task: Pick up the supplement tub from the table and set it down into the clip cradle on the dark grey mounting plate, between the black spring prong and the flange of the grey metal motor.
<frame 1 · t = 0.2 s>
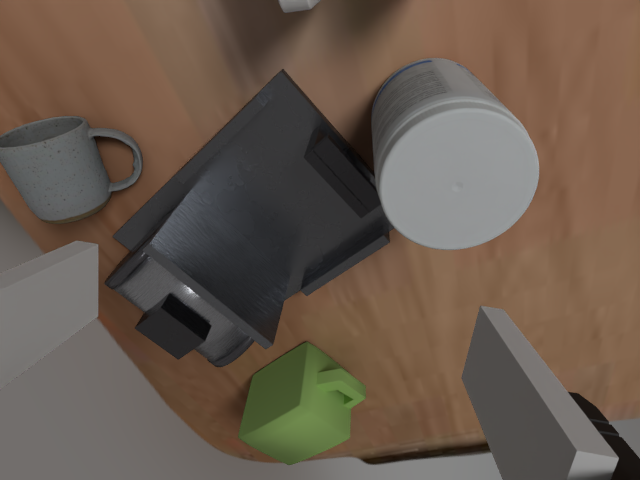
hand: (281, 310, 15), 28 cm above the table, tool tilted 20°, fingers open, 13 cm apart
motor clip: (289, 195, 44), on the table
supplement tub: (427, 112, 38), on the table
gearbox: (302, 378, 59), on the table
ceramic mug: (93, 150, 43), on the table
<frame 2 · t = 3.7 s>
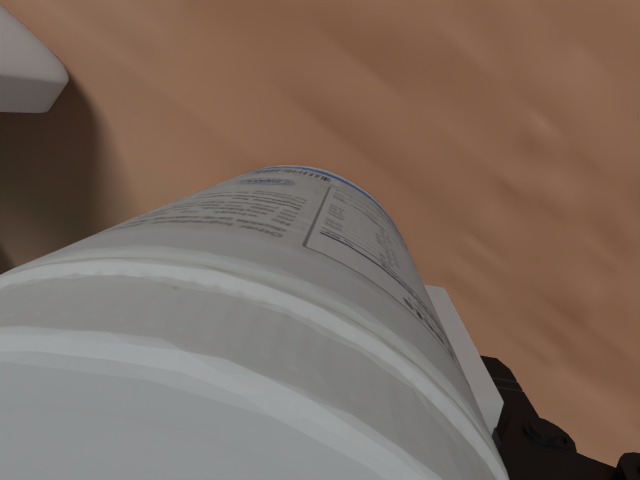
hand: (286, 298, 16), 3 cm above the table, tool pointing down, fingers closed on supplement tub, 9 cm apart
supplement tub: (297, 272, 19), on the table, touching gripper
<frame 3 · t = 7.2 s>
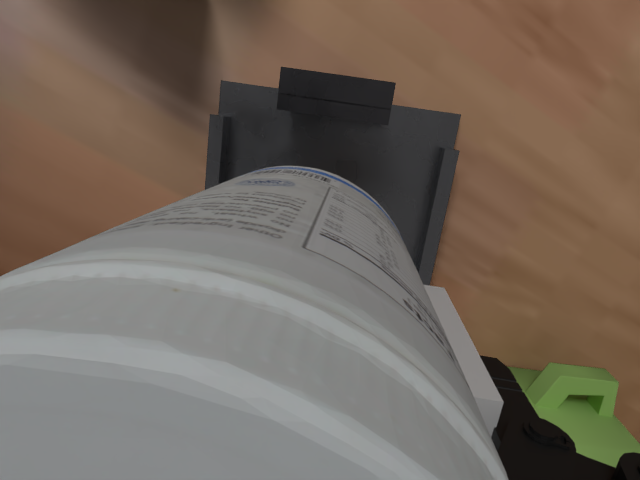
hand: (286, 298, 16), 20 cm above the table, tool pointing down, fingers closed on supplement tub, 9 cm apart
motor clip: (325, 200, 35), on the table
supplement tub: (297, 273, 19), point 18 cm above the table, touching gripper
gearbox: (524, 427, 40), on the table
when the fingers open (5 cm above the table, at t = 10.7 s): supplement tub drops 1 cm, resting on motor clip.
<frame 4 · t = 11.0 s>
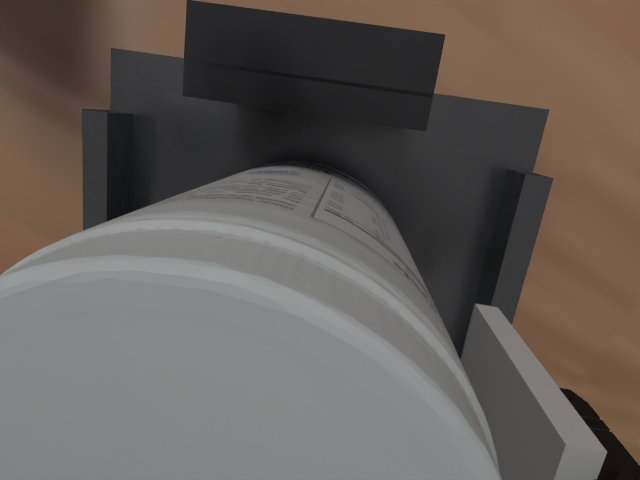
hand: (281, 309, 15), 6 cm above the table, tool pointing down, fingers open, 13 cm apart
motor clip: (303, 256, 21), on the table
supplement tub: (300, 261, 20), point 1 cm above the table, touching motor clip
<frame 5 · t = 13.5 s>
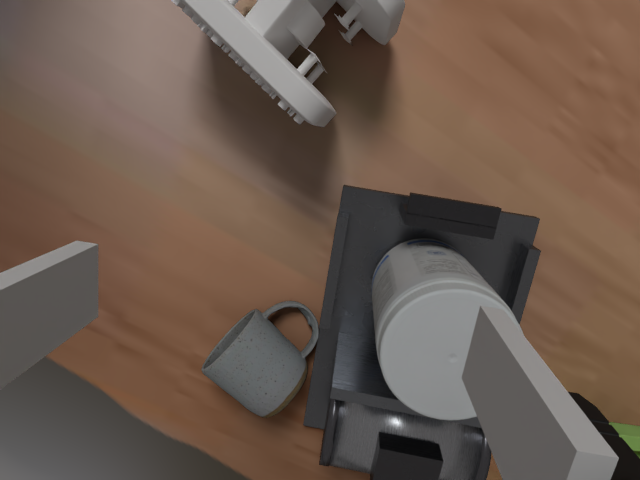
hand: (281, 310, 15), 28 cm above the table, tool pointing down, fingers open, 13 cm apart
motor clip: (420, 280, 43), on the table
supplement tub: (421, 282, 42), point 1 cm above the table, touching motor clip
gearbox: (580, 472, 46), on the table
cable organizer: (301, 29, 39), on the table
ceramic mug: (273, 336, 46), on the table
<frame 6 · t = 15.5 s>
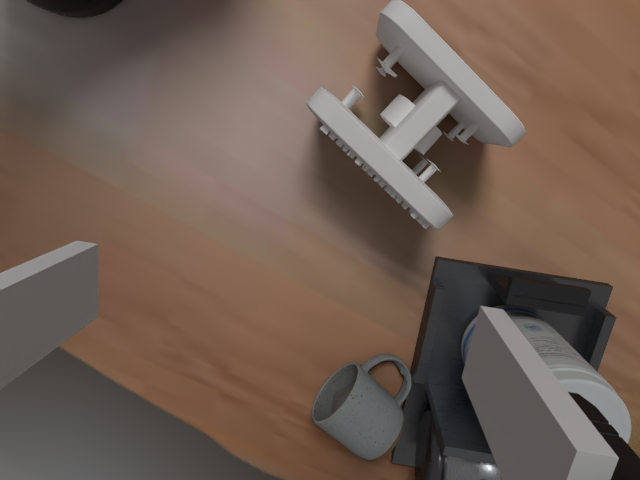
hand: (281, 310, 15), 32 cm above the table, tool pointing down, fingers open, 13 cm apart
motor clip: (502, 337, 48), on the table
supplement tub: (504, 340, 47), point 1 cm above the table, touching motor clip
cable organizer: (402, 123, 44), on the table
ceramic mug: (365, 383, 51), on the table
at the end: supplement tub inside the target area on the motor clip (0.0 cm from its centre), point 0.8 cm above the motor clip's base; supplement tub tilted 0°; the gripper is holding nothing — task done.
